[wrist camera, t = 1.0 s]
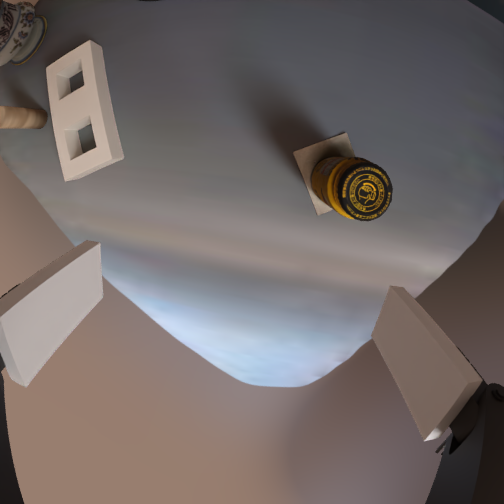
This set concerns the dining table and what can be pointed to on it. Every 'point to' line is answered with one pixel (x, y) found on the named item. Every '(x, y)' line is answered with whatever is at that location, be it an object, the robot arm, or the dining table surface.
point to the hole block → (82, 111)
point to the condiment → (344, 180)
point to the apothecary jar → (19, 32)
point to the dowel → (22, 117)
